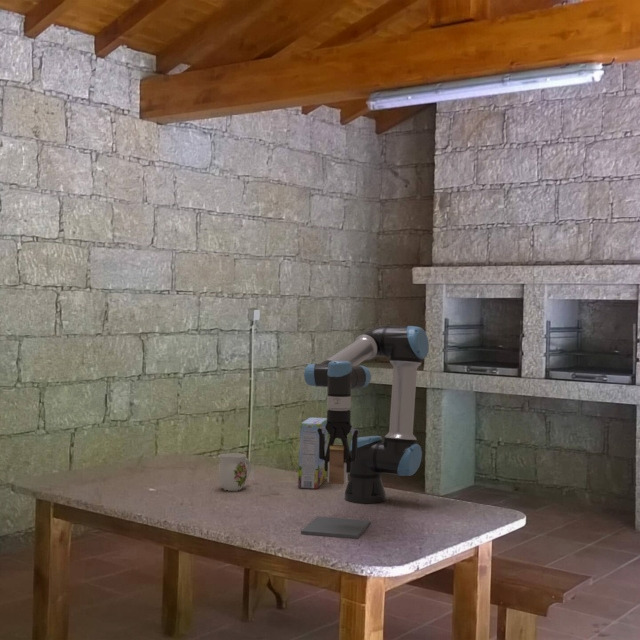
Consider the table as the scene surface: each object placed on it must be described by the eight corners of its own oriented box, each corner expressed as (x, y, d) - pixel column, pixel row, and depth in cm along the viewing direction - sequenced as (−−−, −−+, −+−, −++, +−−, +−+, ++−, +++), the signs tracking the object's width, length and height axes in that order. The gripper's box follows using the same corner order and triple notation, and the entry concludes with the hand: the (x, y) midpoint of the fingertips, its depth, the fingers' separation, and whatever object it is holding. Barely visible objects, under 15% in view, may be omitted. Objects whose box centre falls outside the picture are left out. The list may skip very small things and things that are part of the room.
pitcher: (260, 487, 339) (260, 452, 339) (228, 494, 325) (229, 458, 324) (239, 483, 346) (239, 449, 345) (207, 490, 331) (208, 454, 331)
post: (332, 481, 279) (333, 444, 279) (346, 482, 278) (346, 444, 278) (329, 483, 275) (329, 445, 275) (342, 484, 274) (343, 446, 274)
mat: (317, 519, 287) (317, 516, 287) (370, 523, 283) (370, 520, 283) (300, 534, 268) (301, 530, 268) (357, 538, 264) (357, 535, 264)
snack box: (319, 489, 336) (320, 423, 336) (297, 488, 337) (298, 422, 337) (327, 479, 357) (328, 417, 357) (306, 478, 359) (307, 416, 359)
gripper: (309, 409, 275) (308, 482, 275) (363, 411, 271) (362, 486, 271) (315, 406, 282) (314, 478, 282) (368, 409, 278) (366, 481, 278)
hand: (337, 481), depth 276 cm, fingers closed on post, 4 cm apart
